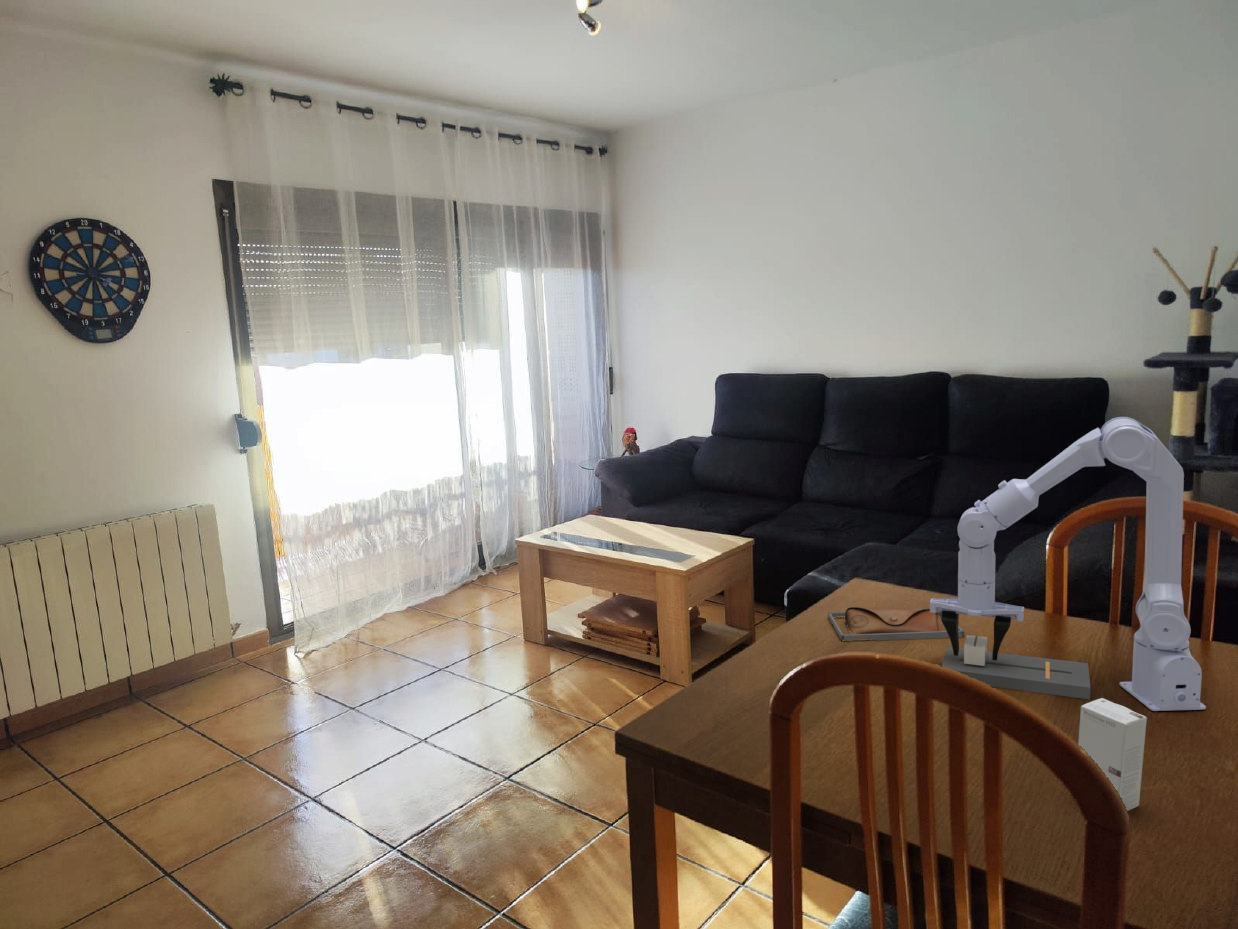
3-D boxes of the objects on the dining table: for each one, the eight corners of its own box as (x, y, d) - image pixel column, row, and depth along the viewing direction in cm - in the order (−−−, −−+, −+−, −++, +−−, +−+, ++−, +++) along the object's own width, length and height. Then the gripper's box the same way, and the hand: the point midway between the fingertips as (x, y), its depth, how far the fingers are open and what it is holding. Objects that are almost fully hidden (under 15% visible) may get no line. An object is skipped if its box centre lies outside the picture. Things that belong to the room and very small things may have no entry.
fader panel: (1087, 674, 140) (1087, 663, 140) (1090, 699, 131) (1090, 687, 131) (947, 657, 150) (947, 646, 149) (940, 680, 141) (940, 668, 141)
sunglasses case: (847, 636, 162) (846, 602, 164) (845, 642, 168) (844, 609, 171) (945, 638, 158) (942, 603, 161) (939, 644, 165) (937, 610, 167)
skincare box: (1073, 793, 107) (1076, 704, 105) (1096, 783, 109) (1100, 696, 107) (1119, 817, 101) (1123, 724, 99) (1143, 807, 103) (1148, 715, 101)
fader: (986, 654, 144) (986, 636, 144) (984, 666, 140) (984, 647, 139) (966, 652, 146) (966, 634, 145) (963, 663, 141) (964, 645, 141)
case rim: (964, 637, 158) (964, 631, 158) (841, 641, 160) (841, 635, 160) (941, 613, 171) (941, 608, 171) (828, 618, 173) (828, 612, 172)
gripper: (927, 582, 140) (927, 659, 142) (1023, 590, 134) (1021, 670, 136) (932, 570, 146) (932, 644, 149) (1024, 577, 140) (1023, 654, 142)
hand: (975, 655), depth 143 cm, fingers open, 5 cm apart
